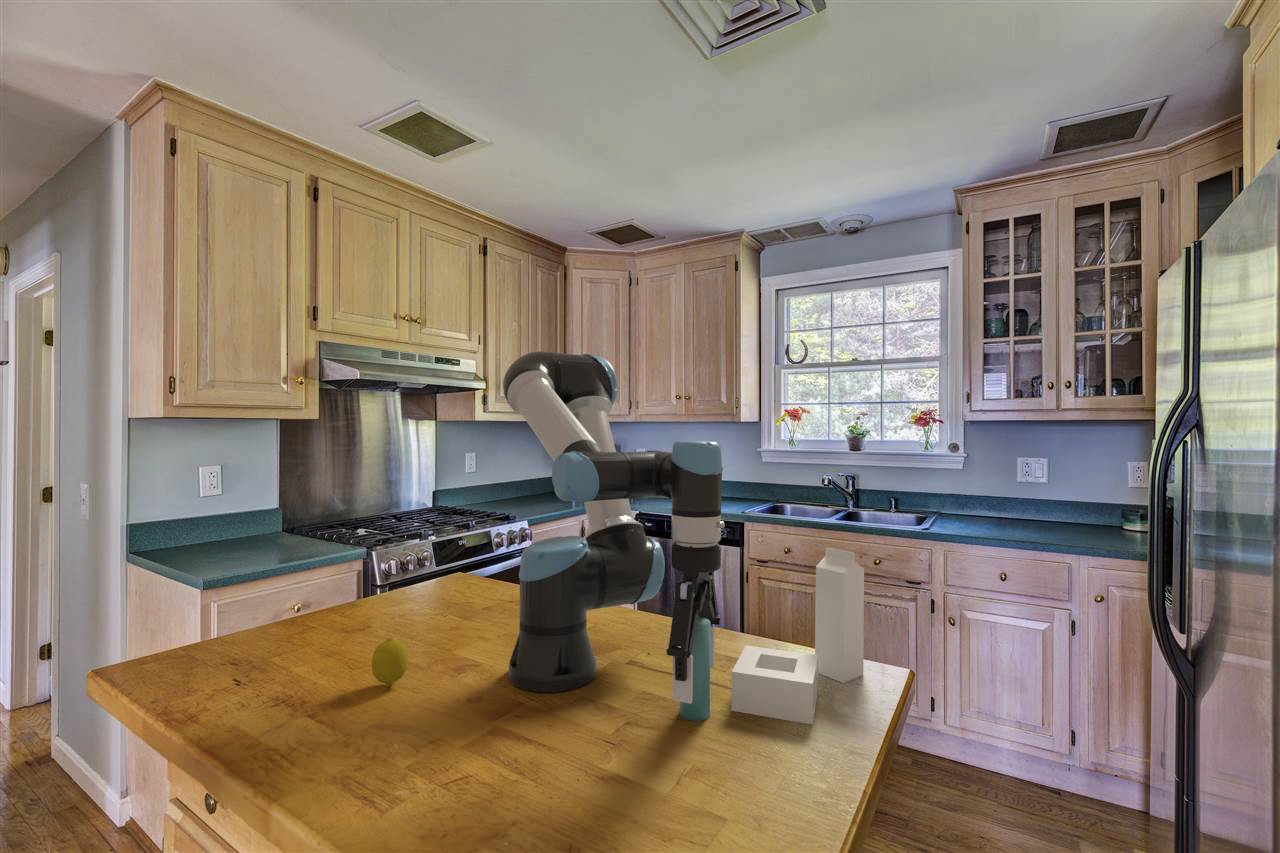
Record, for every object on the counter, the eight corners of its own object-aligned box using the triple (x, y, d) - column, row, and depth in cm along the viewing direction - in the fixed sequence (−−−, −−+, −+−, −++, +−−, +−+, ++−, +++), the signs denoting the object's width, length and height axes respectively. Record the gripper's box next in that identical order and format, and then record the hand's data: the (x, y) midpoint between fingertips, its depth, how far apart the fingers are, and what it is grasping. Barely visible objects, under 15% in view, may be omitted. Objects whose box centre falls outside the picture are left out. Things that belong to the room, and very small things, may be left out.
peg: (676, 717, 90) (677, 624, 90) (684, 704, 94) (685, 615, 94) (705, 723, 88) (706, 627, 88) (712, 709, 93) (713, 618, 93)
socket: (731, 710, 92) (731, 671, 92) (745, 680, 104) (745, 645, 104) (812, 724, 88) (812, 683, 88) (818, 691, 100) (818, 655, 100)
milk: (843, 684, 103) (844, 555, 103) (814, 672, 108) (814, 549, 108) (864, 675, 106) (864, 550, 106) (834, 664, 111) (835, 545, 111)
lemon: (414, 682, 102) (415, 635, 102) (388, 695, 97) (389, 645, 97) (390, 676, 104) (391, 630, 104) (363, 689, 99) (364, 640, 99)
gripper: (699, 560, 78) (698, 724, 78) (736, 531, 102) (735, 656, 102) (645, 556, 81) (643, 714, 81) (693, 528, 104) (692, 650, 104)
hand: (695, 682), depth 91 cm, fingers open, 13 cm apart
